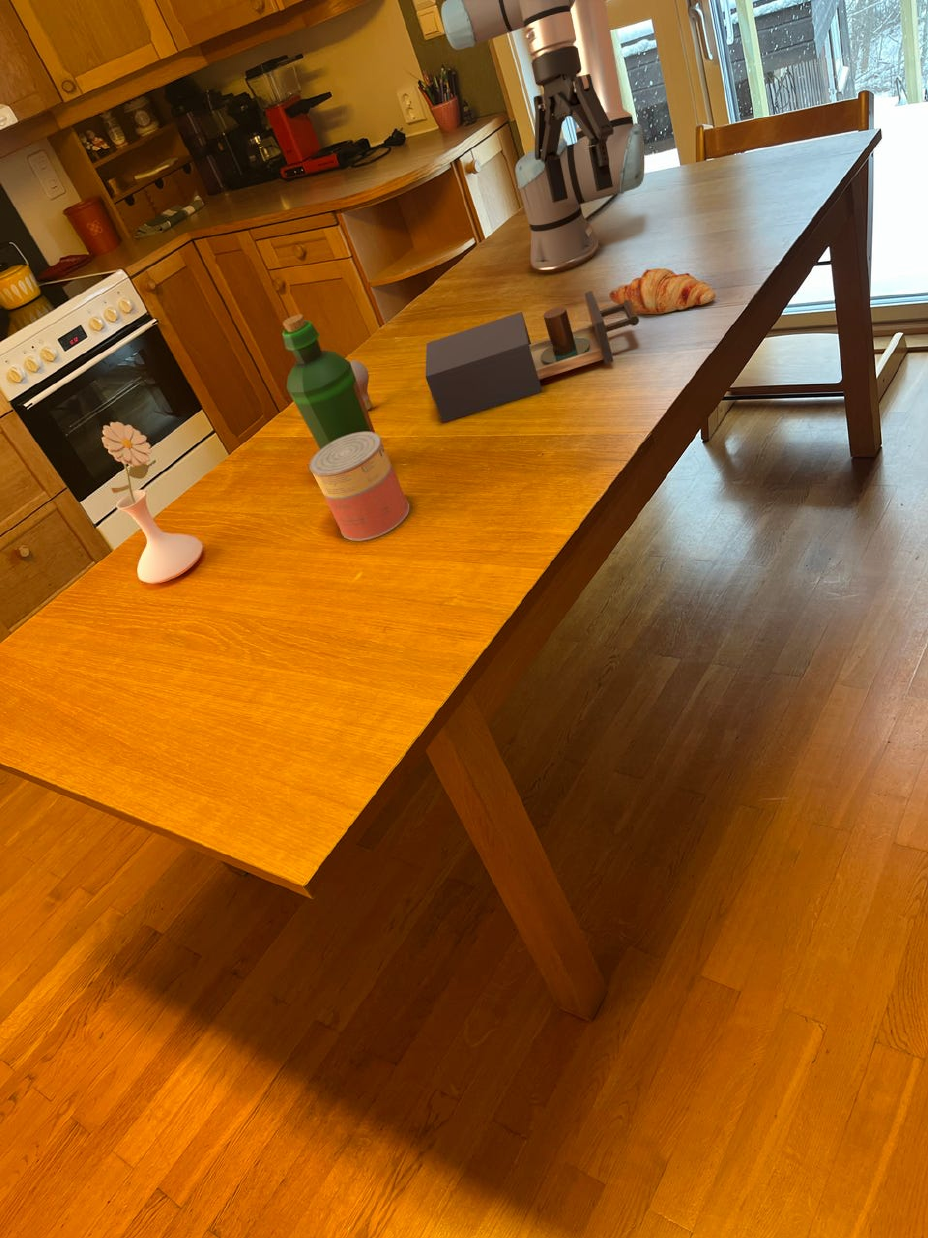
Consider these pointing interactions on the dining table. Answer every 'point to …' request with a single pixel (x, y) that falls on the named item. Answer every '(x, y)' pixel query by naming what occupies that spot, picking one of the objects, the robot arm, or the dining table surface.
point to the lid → (561, 337)
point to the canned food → (360, 486)
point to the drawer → (592, 333)
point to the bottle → (323, 386)
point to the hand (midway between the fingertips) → (581, 195)
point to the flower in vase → (163, 550)
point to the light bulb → (362, 381)
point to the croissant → (663, 292)
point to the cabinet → (481, 368)
